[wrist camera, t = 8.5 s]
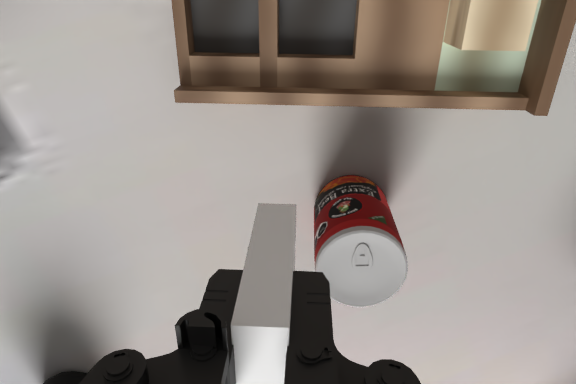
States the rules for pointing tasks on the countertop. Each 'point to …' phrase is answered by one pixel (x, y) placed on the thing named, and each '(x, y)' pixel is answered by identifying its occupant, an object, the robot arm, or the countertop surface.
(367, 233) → the canned food
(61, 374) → the coffee jar
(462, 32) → the maple block
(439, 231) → the countertop surface
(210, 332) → the robot arm
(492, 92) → the track
